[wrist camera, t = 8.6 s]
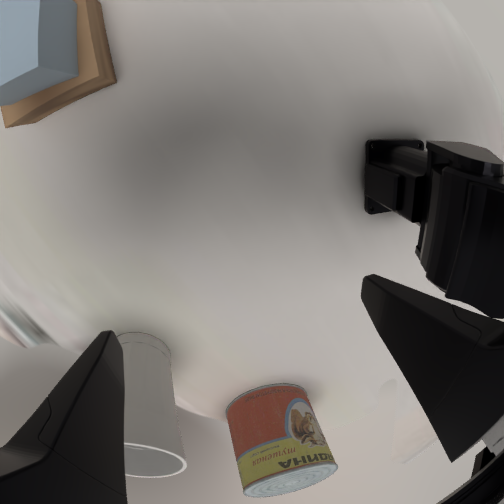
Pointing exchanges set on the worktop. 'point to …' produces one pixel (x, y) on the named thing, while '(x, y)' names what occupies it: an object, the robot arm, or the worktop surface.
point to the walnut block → (89, 67)
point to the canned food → (277, 441)
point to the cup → (150, 409)
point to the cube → (36, 46)
